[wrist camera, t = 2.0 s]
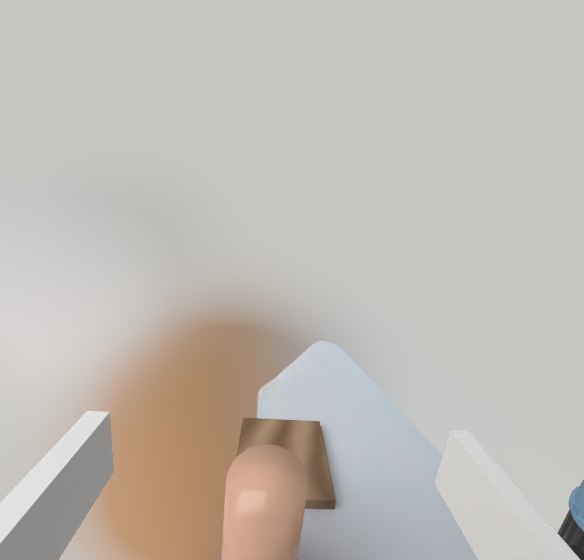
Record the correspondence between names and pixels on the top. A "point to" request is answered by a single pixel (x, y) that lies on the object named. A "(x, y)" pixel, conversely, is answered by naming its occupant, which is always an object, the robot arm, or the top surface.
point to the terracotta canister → (264, 505)
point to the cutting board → (295, 452)
